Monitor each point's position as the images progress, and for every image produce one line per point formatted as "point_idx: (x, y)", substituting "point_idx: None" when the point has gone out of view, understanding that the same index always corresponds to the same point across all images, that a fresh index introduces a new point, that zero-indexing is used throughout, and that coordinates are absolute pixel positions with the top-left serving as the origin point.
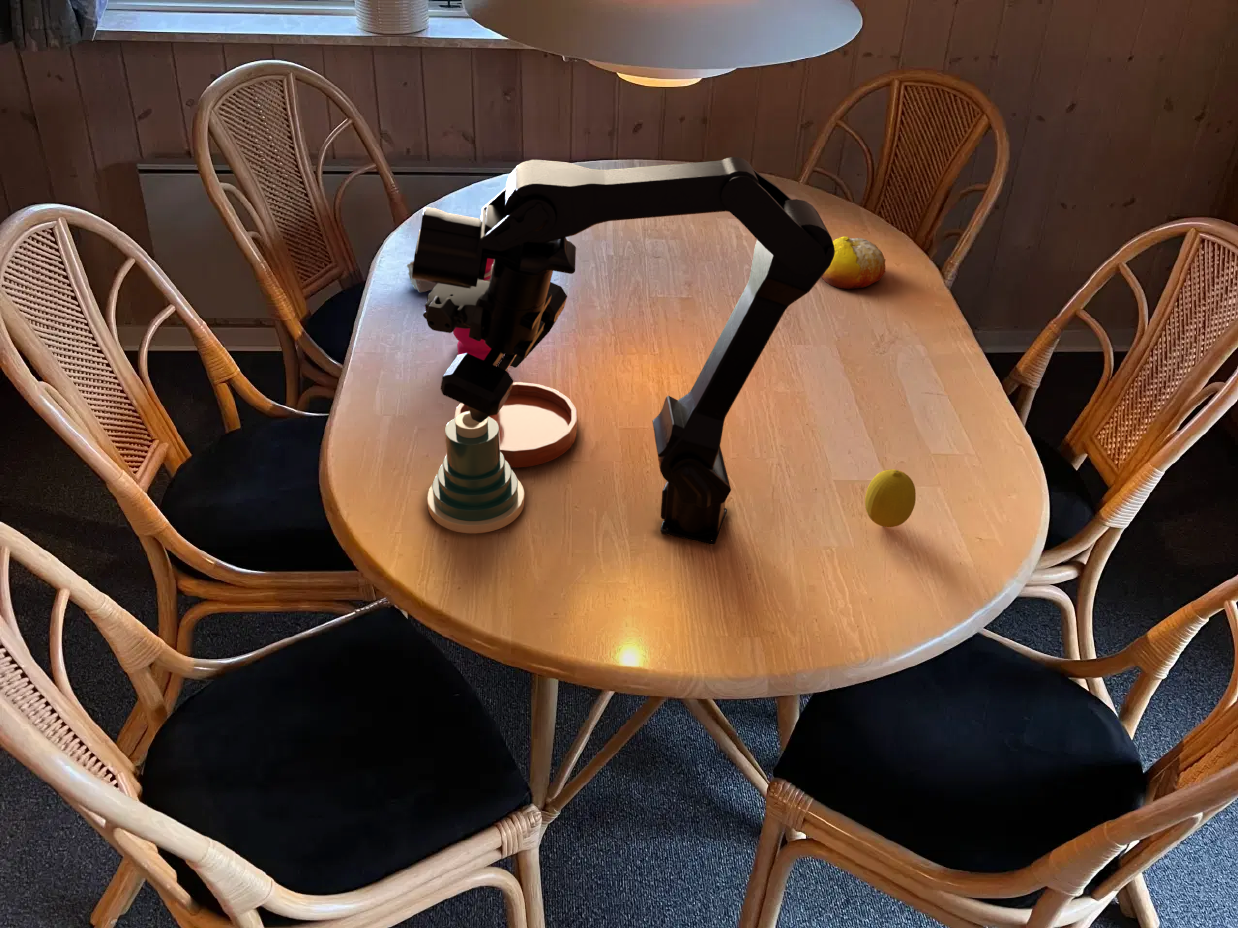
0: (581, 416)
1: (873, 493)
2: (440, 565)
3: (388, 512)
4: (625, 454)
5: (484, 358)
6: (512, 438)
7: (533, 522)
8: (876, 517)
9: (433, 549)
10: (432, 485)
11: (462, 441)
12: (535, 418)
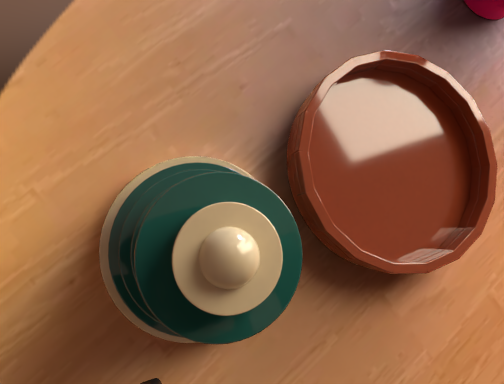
0: None
1: None
2: (5, 327)
3: (71, 137)
4: (449, 351)
5: (482, 2)
6: (361, 183)
7: (217, 367)
8: None
9: (36, 281)
10: (141, 183)
11: (150, 283)
12: (423, 176)
